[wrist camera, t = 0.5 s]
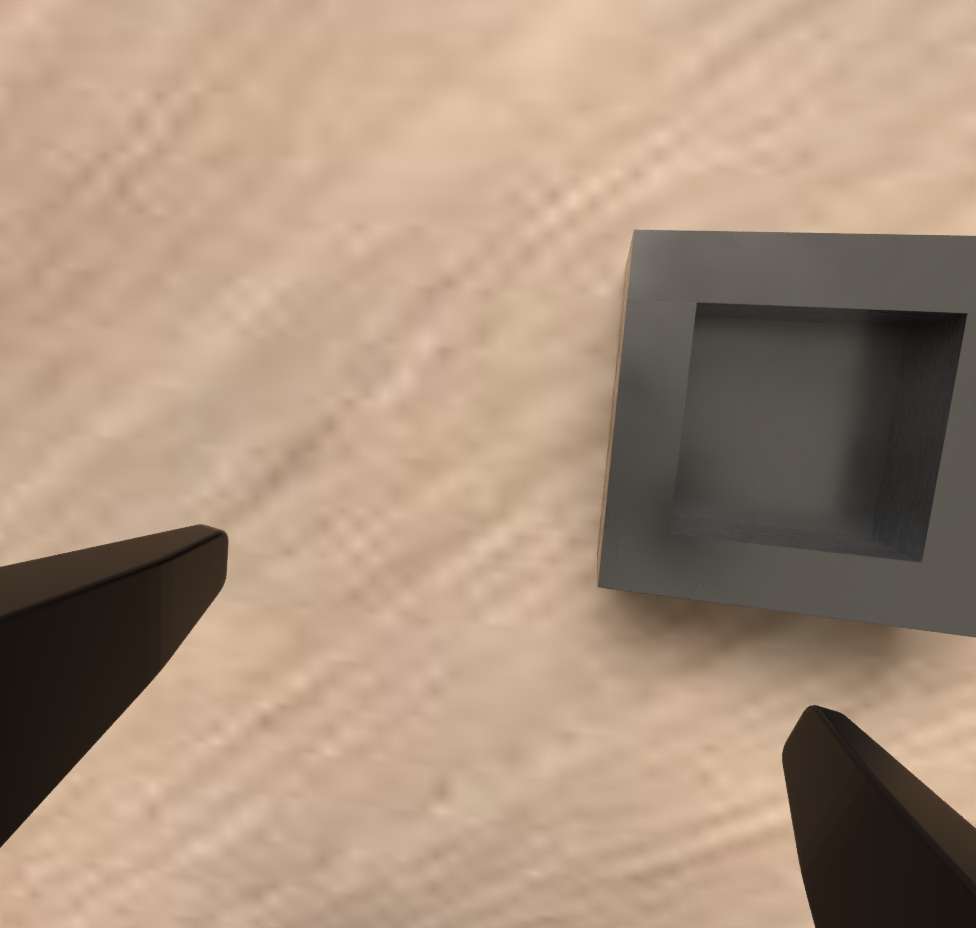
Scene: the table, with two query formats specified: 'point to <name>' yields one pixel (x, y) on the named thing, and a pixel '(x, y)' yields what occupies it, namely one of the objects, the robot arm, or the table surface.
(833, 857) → the robot arm
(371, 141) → the table surface
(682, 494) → the socket block
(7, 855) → the table surface
